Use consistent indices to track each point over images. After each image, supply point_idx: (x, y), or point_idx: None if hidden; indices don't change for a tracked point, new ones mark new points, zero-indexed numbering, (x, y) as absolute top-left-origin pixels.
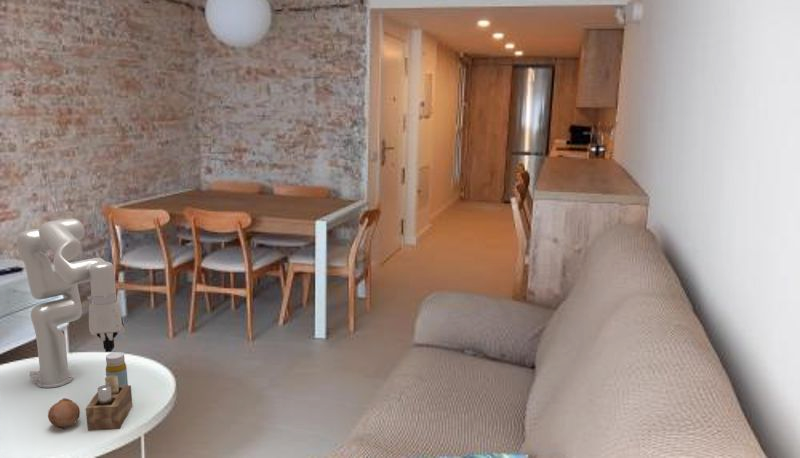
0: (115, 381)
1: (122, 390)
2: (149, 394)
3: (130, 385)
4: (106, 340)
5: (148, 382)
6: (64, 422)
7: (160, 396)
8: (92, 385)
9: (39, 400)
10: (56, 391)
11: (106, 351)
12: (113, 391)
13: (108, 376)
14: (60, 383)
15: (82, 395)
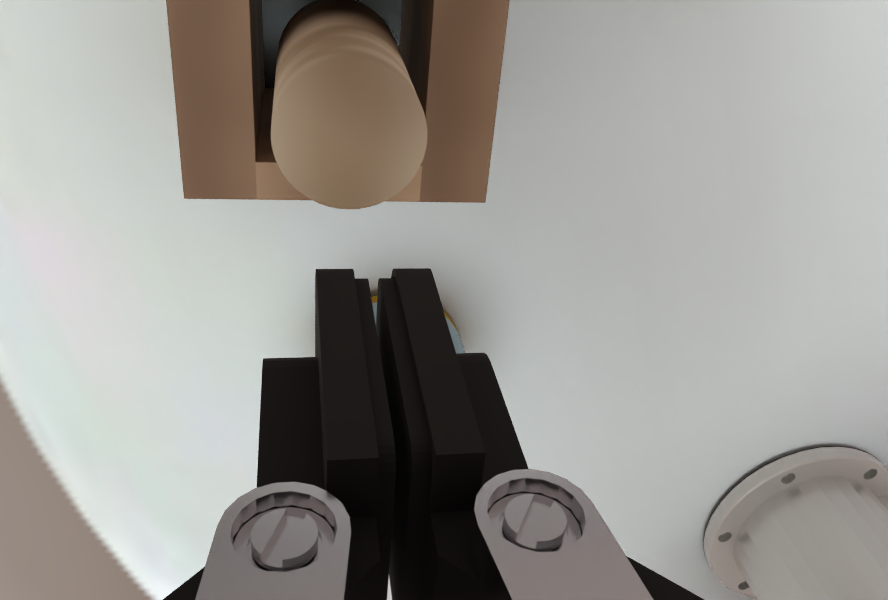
0: (286, 78)
1: (234, 82)
2: (140, 308)
3: (187, 196)
4: (434, 499)
5: (219, 479)
6: None
7: (28, 266)
8: (584, 461)
9: (880, 302)
10: (786, 405)
11: (408, 270)
12: (314, 26)
13: (396, 177)
14: (774, 475)
15: (627, 340)
